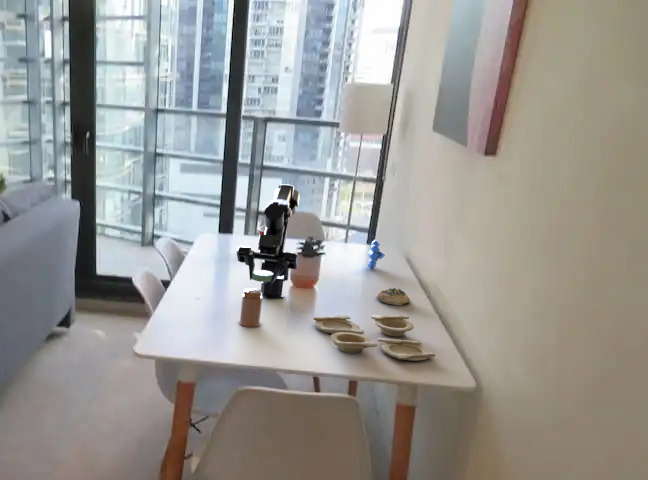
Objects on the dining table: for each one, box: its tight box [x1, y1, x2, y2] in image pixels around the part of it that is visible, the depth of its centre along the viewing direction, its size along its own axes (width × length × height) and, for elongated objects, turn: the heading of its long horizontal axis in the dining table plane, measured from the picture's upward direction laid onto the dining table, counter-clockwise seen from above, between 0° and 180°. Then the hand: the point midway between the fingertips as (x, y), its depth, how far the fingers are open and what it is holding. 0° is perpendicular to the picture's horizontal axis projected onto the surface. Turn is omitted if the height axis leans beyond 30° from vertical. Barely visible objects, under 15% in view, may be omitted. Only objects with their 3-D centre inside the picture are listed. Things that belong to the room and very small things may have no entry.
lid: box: [252, 269, 274, 283], centre depth 222 cm, size 7×7×2 cm
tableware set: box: [312, 314, 436, 362], centre depth 211 cm, size 35×29×4 cm
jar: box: [239, 288, 263, 328], centre depth 219 cm, size 6×6×11 cm
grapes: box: [367, 239, 386, 270], centre depth 289 cm, size 12×7×12 cm, turn 160°
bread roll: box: [377, 287, 411, 306], centre depth 250 cm, size 11×11×5 cm
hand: (261, 280), depth 221 cm, fingers closed on lid, 6 cm apart
